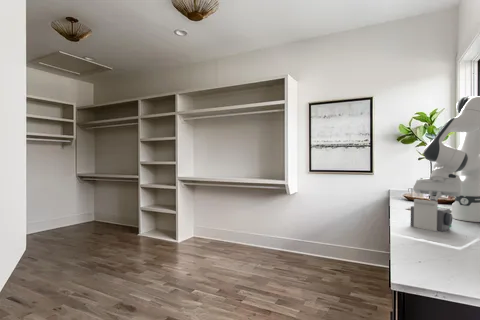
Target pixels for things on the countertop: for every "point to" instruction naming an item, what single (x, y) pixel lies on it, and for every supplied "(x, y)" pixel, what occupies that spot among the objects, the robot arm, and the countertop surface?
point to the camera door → (425, 214)
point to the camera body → (438, 218)
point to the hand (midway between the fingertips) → (433, 199)
